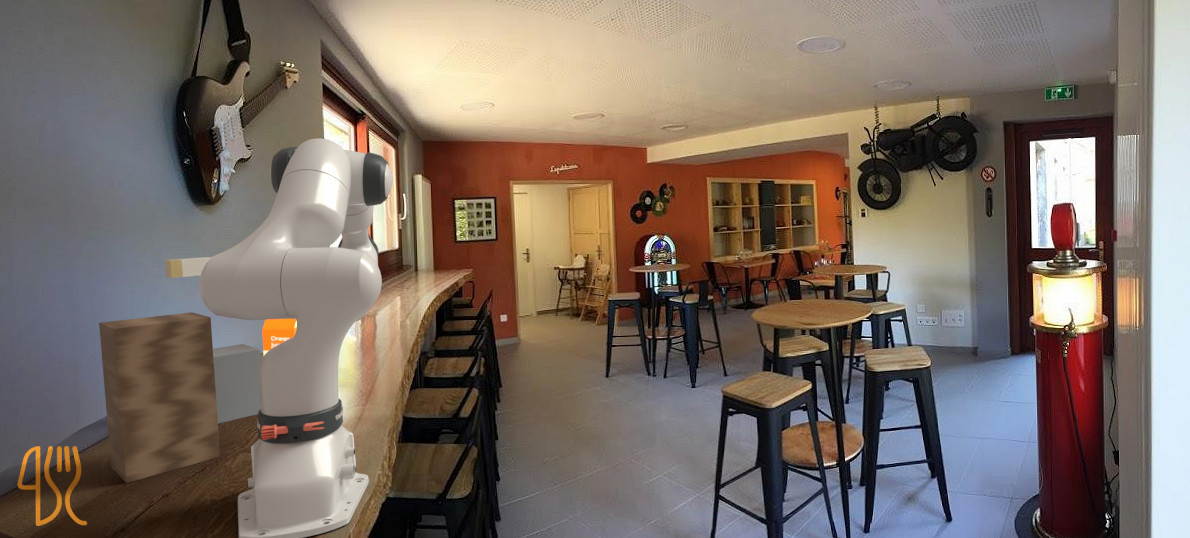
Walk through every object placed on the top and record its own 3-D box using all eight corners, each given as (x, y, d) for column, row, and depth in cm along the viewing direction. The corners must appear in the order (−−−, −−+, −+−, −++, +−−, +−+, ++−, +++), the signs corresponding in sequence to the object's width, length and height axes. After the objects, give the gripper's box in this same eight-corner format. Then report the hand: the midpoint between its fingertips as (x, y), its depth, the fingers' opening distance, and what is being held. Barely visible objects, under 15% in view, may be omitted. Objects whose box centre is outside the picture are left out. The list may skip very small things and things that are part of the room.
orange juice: (297, 381, 163) (292, 308, 161) (264, 381, 163) (260, 308, 161) (311, 374, 171) (307, 304, 169) (280, 374, 171) (276, 304, 169)
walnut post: (201, 444, 118) (191, 312, 115) (220, 456, 111) (210, 317, 109) (111, 467, 107) (99, 322, 105) (126, 483, 100) (113, 328, 98)
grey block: (246, 404, 143) (242, 344, 142) (264, 412, 137) (260, 349, 135) (198, 415, 135) (193, 351, 134) (214, 424, 129) (210, 357, 128)
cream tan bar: (266, 268, 142) (265, 253, 142) (273, 269, 140) (272, 253, 139) (166, 277, 127) (164, 259, 127) (171, 277, 125) (170, 260, 124)
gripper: (293, 271, 155) (240, 247, 145) (332, 276, 142) (277, 249, 132) (281, 294, 153) (227, 270, 144) (320, 300, 140) (263, 275, 130)
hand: (251, 260), depth 138 cm, fingers closed on cream tan bar, 4 cm apart
